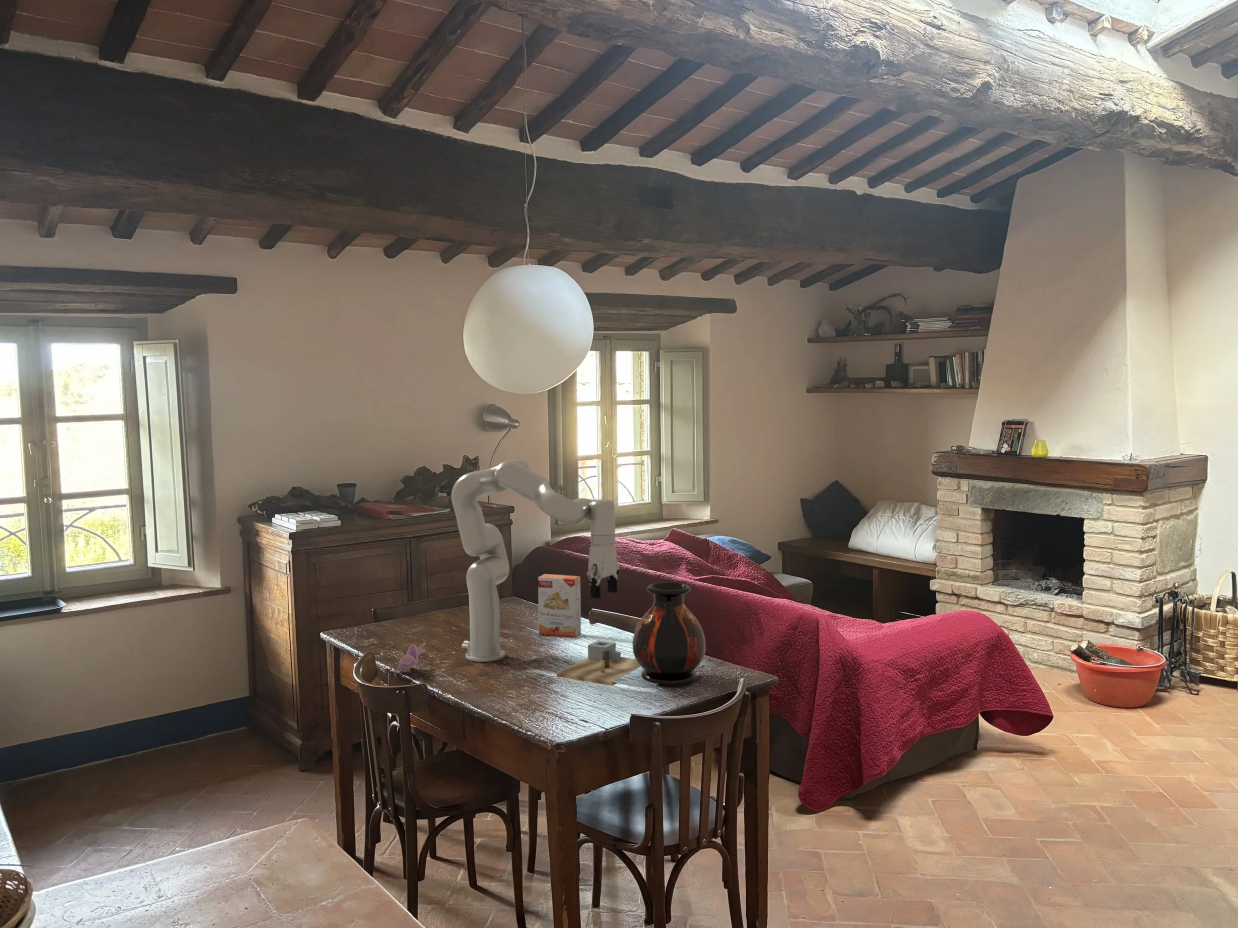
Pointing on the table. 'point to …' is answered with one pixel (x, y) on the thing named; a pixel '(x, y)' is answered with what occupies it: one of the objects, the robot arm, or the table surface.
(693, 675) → the black orange vase
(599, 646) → the grey square hole block
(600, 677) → the post base
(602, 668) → the cylinder
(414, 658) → the lily
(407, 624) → the table surface
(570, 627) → the cracker box
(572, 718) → the table surface
